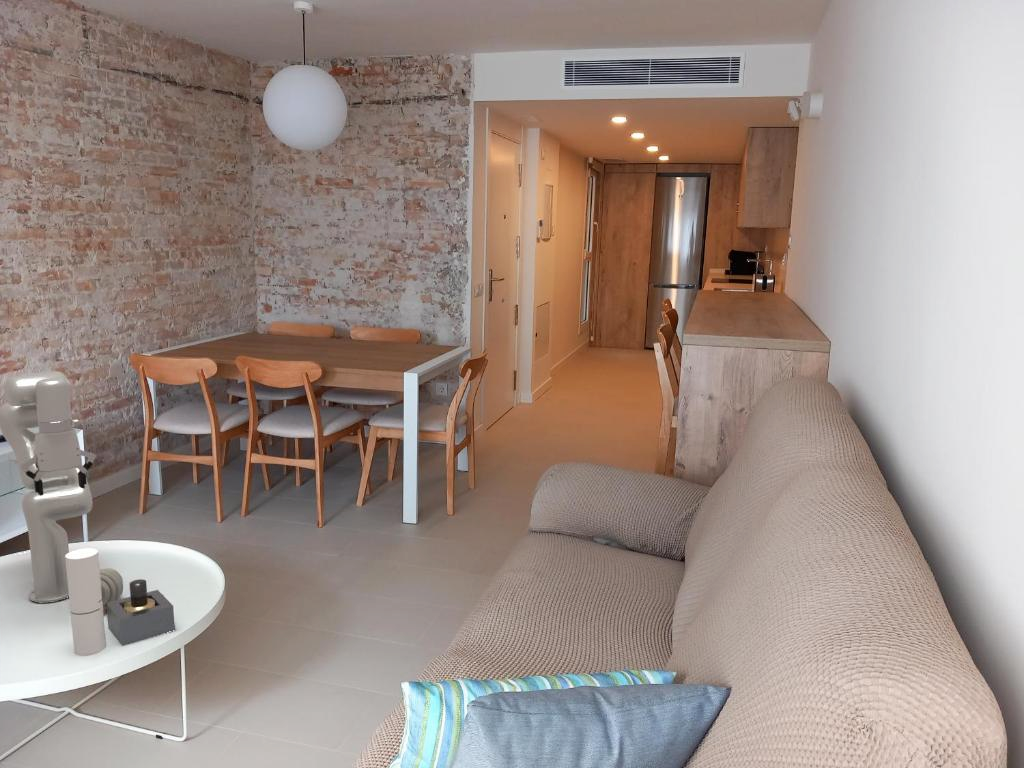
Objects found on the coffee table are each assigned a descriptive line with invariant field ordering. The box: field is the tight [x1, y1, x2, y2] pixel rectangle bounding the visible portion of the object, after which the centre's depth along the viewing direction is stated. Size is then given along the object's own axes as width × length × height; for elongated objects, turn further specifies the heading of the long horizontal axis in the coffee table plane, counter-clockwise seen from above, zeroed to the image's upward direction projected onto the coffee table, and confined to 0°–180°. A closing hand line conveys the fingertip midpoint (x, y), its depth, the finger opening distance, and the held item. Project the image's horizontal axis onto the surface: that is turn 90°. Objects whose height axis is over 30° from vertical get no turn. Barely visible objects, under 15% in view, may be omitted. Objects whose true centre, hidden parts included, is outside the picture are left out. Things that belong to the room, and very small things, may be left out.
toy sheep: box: [99, 567, 124, 616], centre depth 228 cm, size 11×17×11 cm, turn 4°
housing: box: [106, 589, 176, 647], centre depth 216 cm, size 13×13×7 cm
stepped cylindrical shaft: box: [124, 579, 155, 614], centre depth 215 cm, size 7×7×12 cm
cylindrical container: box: [65, 547, 107, 656], centre depth 204 cm, size 7×7×25 cm
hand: (61, 490), depth 213 cm, fingers open, 9 cm apart
